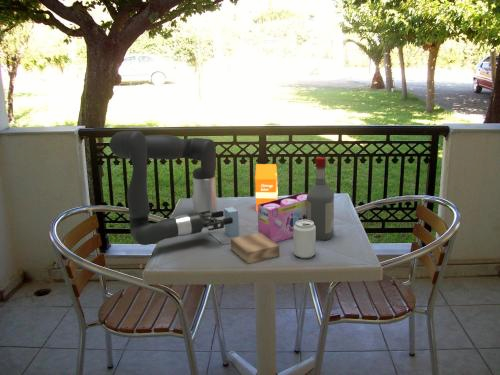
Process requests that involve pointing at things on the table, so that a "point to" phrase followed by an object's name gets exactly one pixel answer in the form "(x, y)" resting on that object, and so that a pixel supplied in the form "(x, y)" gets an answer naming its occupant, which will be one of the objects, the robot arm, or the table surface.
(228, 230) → the block
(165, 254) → the table surface
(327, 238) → the liquor
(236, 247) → the wooden slab
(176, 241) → the table surface
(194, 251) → the table surface
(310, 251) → the can
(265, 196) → the orange juice
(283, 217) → the gum box
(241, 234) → the mat
